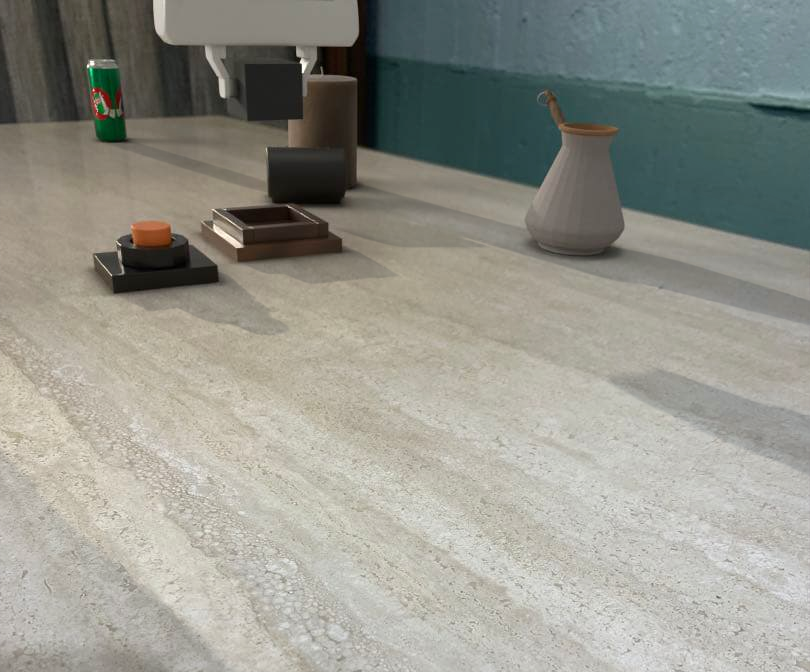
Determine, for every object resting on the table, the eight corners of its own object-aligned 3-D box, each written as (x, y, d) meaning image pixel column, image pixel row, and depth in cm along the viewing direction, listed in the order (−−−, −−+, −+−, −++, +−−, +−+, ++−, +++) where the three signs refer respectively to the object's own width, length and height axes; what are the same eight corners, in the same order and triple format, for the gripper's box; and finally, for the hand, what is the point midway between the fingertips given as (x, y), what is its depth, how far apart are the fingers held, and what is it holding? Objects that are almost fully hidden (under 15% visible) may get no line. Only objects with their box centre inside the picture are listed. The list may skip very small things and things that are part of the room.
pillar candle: (349, 193, 121) (349, 71, 112) (281, 188, 122) (277, 67, 113) (362, 180, 129) (364, 65, 120) (298, 175, 130) (296, 61, 121)
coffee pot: (636, 260, 98) (663, 113, 90) (538, 260, 96) (558, 110, 88) (572, 215, 115) (590, 89, 107) (489, 215, 113) (501, 86, 105)
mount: (237, 262, 90) (235, 233, 88) (201, 234, 99) (199, 207, 97) (342, 252, 95) (342, 224, 93) (299, 226, 104) (298, 200, 102)
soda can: (119, 137, 151) (110, 58, 144) (132, 141, 148) (123, 61, 141) (91, 138, 148) (80, 58, 141) (104, 143, 145) (93, 62, 138)
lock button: (138, 250, 81) (136, 231, 80) (129, 241, 84) (126, 222, 83) (176, 247, 82) (175, 228, 82) (166, 238, 85) (164, 219, 84)
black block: (247, 121, 86) (244, 63, 83) (227, 112, 90) (224, 57, 87) (303, 119, 88) (302, 63, 86) (281, 111, 93) (279, 58, 90)
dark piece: (114, 294, 80) (108, 255, 78) (95, 270, 85) (89, 234, 84) (219, 283, 84) (216, 246, 82) (194, 261, 90) (191, 226, 88)
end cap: (269, 208, 111) (266, 151, 107) (266, 195, 117) (264, 141, 113) (346, 208, 113) (346, 152, 109) (340, 196, 119) (340, 142, 115)
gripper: (343, -62, 87) (342, 91, 95) (139, -75, 79) (157, 94, 86) (371, -62, 83) (368, 99, 90) (158, -77, 74) (175, 103, 82)
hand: (263, 97), depth 88 cm, fingers closed on black block, 6 cm apart
